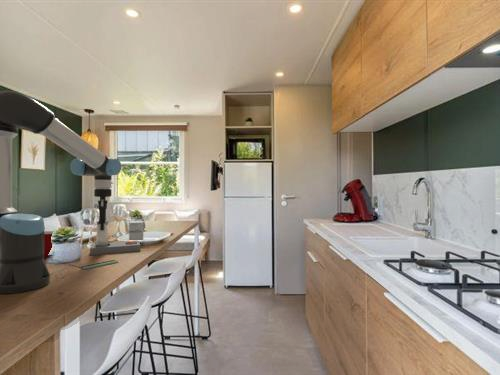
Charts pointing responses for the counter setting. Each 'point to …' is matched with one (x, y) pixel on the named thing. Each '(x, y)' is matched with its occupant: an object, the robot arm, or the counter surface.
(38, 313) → the counter surface
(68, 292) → the counter surface
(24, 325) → the counter surface
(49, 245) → the plastic cup
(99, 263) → the mat
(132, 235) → the supplement box
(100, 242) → the block
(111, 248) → the dock
